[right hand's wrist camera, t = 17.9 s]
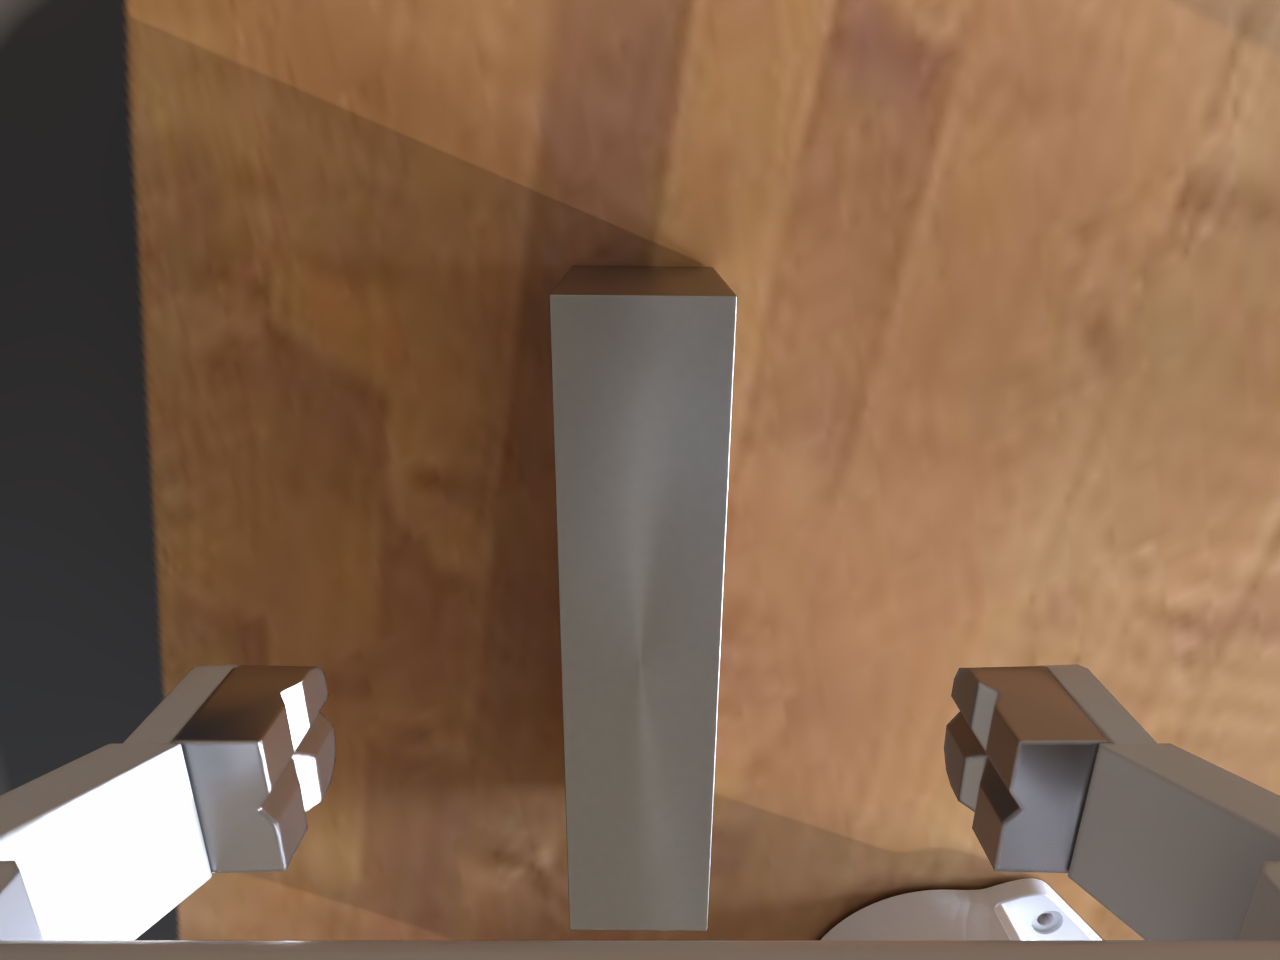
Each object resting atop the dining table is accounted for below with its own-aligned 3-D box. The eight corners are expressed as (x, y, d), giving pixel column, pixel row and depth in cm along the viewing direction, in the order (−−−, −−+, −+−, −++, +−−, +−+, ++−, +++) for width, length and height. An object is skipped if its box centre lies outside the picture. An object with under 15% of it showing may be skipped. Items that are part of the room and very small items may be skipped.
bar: (571, 266, 33) (549, 294, 25) (713, 267, 33) (737, 295, 25) (583, 785, 42) (569, 930, 34) (694, 785, 42) (707, 931, 34)
